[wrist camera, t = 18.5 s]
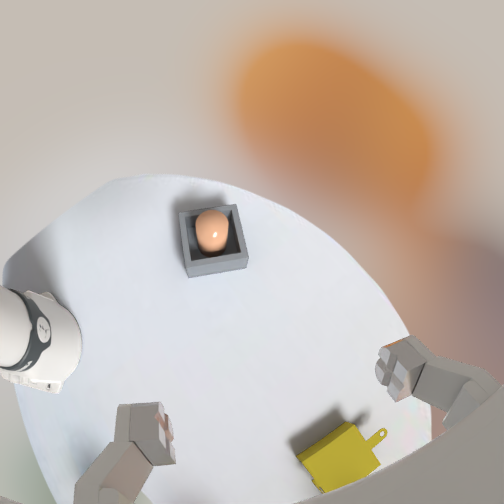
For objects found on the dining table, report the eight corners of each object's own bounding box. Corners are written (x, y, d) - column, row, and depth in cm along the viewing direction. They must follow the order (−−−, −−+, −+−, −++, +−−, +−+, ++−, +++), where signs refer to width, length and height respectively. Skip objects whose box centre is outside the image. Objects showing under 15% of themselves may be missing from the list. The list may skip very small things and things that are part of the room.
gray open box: (188, 278, 49) (185, 268, 44) (181, 226, 53) (178, 212, 48) (246, 268, 51) (248, 257, 46) (234, 218, 55) (236, 203, 50)
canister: (200, 260, 49) (198, 241, 43) (195, 234, 51) (193, 212, 44) (229, 254, 50) (231, 235, 44) (223, 229, 52) (224, 207, 45)
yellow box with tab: (414, 461, 33) (343, 518, 28) (391, 453, 40) (327, 502, 35) (377, 398, 37) (296, 459, 33) (355, 396, 44) (284, 446, 40)
